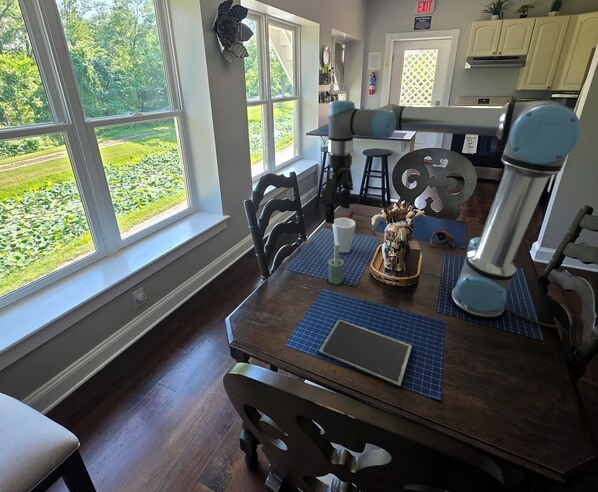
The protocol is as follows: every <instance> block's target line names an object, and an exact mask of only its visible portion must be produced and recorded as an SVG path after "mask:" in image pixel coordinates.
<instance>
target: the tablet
mask: <svg viewBox="0 0 598 492" xmlns="http://www.w3.org/2000/svg"><path fill="white" fill-rule="evenodd" d="M412 349H413V345H412V344H409V343H407V342H403V341H400V340H398V339H395V338H392V337H390V336H387V335H385V334H381V333H378V332H376V331H373V330H370V329H368V328H365V327H362V326H359V325H356V324H354V323H351V322H348V321H345V320H342V319H339V318H338V319H337V321H336V322H335V324H334V326H333V327H332V329H331V331H330V333H329V334H328V335H327V337H326V339H325V340H324V342H323V344H322V345H321V347H320V349H319V350H318V354H319V355H320V356H323V357H325V358H327V359H330V360H332V361H335V362H336V363H337V362H338V363H339V364H342V365H345V366H346V367H349V368H351V369H353V370H356V371H358V372H361V373H362V374H365V375H368V376H370V377H372V378H375V379H377V380H379V381H381V382H383V383H387V384H388V385H391V386H394V387H396V388H397V389H401V386H402V383H403V379H404V377H405V373H406V369H407V366H408V362H409V359H410V355H411V352H412Z"/></svg>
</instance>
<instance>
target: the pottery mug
mask: <svg viewBox="0 0 598 492" xmlns="http://www.w3.org/2000/svg"><path fill="white" fill-rule="evenodd" d="M430 236H431V237H430V238H431V239H430V247H434V248H437V249H439V248H449V246H448V244H449V245H451V246H452V248H453V249H455V247H456V245H455V242H454V237H453V236H452V235H451V234H450V233H448V232H447V231H445V230H443V228H438V229H437V231H435V232H433V233H432V235H430ZM435 236H437V241H436V240H434V238H435Z"/></svg>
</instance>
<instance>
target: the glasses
mask: <svg viewBox="0 0 598 492" xmlns="http://www.w3.org/2000/svg"><path fill="white" fill-rule="evenodd" d="M354 215H355V216H360V217H366V218H371V219H373V218H372V217H373V216H369V215H364V214H359V213H354V211H350V212H349V214H348V215H346V217H345V218H348V219H352V220H353V217H354ZM378 220H379V221H378V222H379V223H380V224H383V222H382V221H381V220H380V219H378ZM356 227H357V228H360V229H361V228H362V229H366V230H369V231H370V232H371V233H372V234H373V235H374V236H375V235H376V233H375V232H374V231H373V230H371V229H370V228H369V227H365V226H361V225H355V228H356Z"/></svg>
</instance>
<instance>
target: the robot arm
mask: <svg viewBox="0 0 598 492" xmlns="http://www.w3.org/2000/svg"><path fill="white" fill-rule="evenodd" d="M328 109H329V110H328V116H327V117H328V141H327V147H328V149H327V152H328V154H327V165H328V166H329V167H331V168H332V169H331V172H327V175H326V183H325V188H324V191H323V197H322V201H321V202H322V203H321V204H322V205H324V206H325V223H326V224H330V225H333V224H334V220H335V211H336V210H335V208H336V206H335V199H336V196H337V193H338V190H339V187H341V186H342V189H341V208H342V209H347V210H349V209H350V204H351V203H350V202H351V191H353V190H354V183H353V182H354V181H353V175H352V169H351V168H352V167H351V166H352V164H353V154H352V153H353V150H354V136H359V137H368V138H369V137H371V138H376V139H389V138H391V137H393V135H394V133H395V132H414V133H415V132H418V133H436V134H449V135H450V134H451V135H452V134H453V135H455V134H456V135H468V136H469V135H470V136H471V135H472V136H488V137H496V138H498V140H500V141H506V143H505V147H504V150H503V153H502V156H501V159H500V160H501V162H502V163H503V165H504V166H505V169H504V171H503V174H502V176H501V180H500V182H499V185H498V187H497V190H496V193H495V196H494V199H493V200H492V201H493V202H492V204H491V208H490V210H489V212H488V216H487V218H486V221H485V224H484V226H483V229H482V232H481V235H480V236H479V237H473V238H471V239H470V240H469V242H468V245H467V252H466V255H465V259H464V262H463V265H462V268H461V271H460V275H459V277H458V280H457V281H456V284H455V286H454V288H453V289H452V292H451V297H450V298H451V301H452V303H453V305H454V306H455V307H456V308H457V309H458V310H459V311H461V312H462V313H464V314H466V315H468V316H469V317H472V318H476V319H480V320H487V321H488V320H496V319H499V318H501V317H502V316H503V314H504V312H505V311H506V312H508V313H510V314H511V315H514V316H516V317H518V318H521V319H523V320H525V321H528V322H529V323H532V324H534V325H539V326H542V327H546V328H552V329H556V330H559V331H562V332H563V333H564V334H565V335H567V336H568V335H569V336H570V333H569V332H568V331H567V329H565V328H564V327H562V326H559V325H554V324H548V323H544V322H541V321H537V320H534V319H531V318H528V317H526V316H524V315H522V314H520V313H518V312H516V311H514V310H511V309H510V308H507V307H506V306H505V305H506V303H507V301H508V290H509V288H510V286H511V284H512V281H513V279H514V276H515V274H516V272H517V267H516V265H515V264H514V262H513V261H514V259H515V256H516V254H517V252H518V249H519V247H520V245H521V242H522V240H523V238H524V236H525V233H526V231H527V228H528V227H529V224H530V222H531V219H532V217H533V214H534V212H535V210H536V208H537V205H538V203H539V201H540V198H541V196H542V193H543V191H544V189H545V187H546V185H547V182H548V180H549V178H550V177H551V176H554V175H556V174H559V173H561V170H562V169H563V166H564V164H565V162H566V160H567V157H568V155H570V154H571V152H572V151H573V150H574V149H575V147H576V146H577V145H578V143H579V141H580V138H581V133H582V128H581V122H580V119H579V117H578V115H577V114H576V113H575V111H573V110H572V109H571V108H569V107H568V106H567V105H566V104H564V103H562V102H560V101H557V100H552V99H543V100H533V101H523V102H522V101H521V102H507V103H506V104H504V105H502V106H481V105H480V106H476V105H475V106H474V105H473V106H472V105H471V106H466V105H465V106H464V105H399V104H386V105H384V106H381V107H376V108H372V109H369V108H368V109H367V108H365V109H364V108H356V103H355V102H354V101H353V100H333V101H331V102H330V103H329V108H328Z"/></svg>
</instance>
